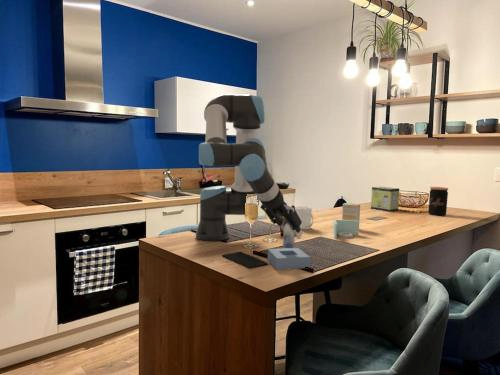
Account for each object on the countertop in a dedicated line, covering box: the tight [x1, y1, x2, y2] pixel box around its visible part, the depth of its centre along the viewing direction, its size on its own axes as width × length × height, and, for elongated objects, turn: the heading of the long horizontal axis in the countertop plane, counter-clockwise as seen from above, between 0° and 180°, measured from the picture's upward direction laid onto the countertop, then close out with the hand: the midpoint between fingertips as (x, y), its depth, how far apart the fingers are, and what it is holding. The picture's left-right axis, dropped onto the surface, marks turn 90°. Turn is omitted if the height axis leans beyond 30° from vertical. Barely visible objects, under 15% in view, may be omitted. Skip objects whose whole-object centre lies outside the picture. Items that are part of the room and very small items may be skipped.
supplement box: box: [341, 202, 361, 222], centre depth 203 cm, size 8×5×13 cm, turn 57°
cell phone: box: [221, 251, 269, 270], centre depth 142 cm, size 9×18×1 cm, turn 37°
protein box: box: [370, 186, 400, 213], centre depth 267 cm, size 10×16×16 cm
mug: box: [295, 206, 314, 230], centre depth 199 cm, size 9×12×11 cm
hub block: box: [267, 247, 311, 270], centre depth 139 cm, size 12×12×4 cm
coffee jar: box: [428, 186, 449, 217], centre depth 251 cm, size 11×11×18 cm
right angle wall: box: [332, 219, 360, 240], centre depth 184 cm, size 12×12×8 cm
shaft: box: [282, 217, 296, 248], centre depth 138 cm, size 4×4×13 cm
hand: (294, 235), depth 141 cm, fingers closed on shaft, 4 cm apart
